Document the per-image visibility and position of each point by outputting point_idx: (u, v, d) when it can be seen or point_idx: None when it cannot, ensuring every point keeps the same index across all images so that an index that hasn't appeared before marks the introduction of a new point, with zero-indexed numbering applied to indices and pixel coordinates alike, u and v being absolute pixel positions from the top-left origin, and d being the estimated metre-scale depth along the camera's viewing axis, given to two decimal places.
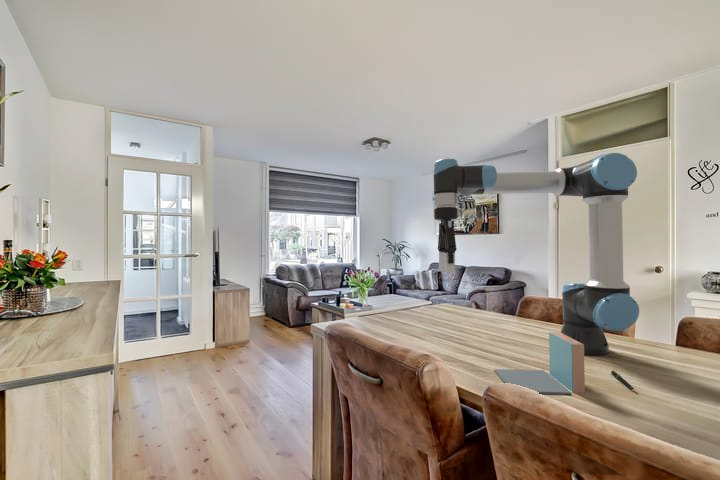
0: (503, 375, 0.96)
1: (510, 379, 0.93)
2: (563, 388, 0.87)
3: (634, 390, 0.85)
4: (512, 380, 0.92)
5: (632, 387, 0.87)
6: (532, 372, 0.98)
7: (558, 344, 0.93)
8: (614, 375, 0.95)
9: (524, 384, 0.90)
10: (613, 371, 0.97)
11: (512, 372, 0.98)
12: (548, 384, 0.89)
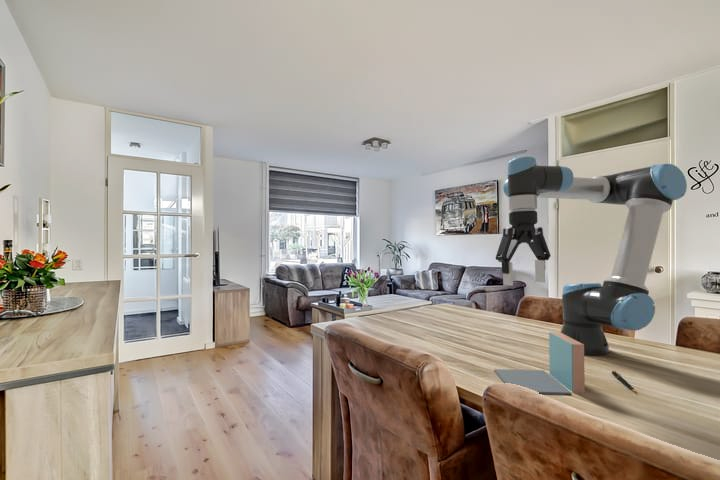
0: (503, 375, 0.96)
1: (510, 379, 0.93)
2: (563, 388, 0.87)
3: (634, 390, 0.85)
4: (512, 380, 0.92)
5: (632, 387, 0.87)
6: (532, 372, 0.98)
7: (558, 344, 0.93)
8: (615, 375, 0.95)
9: (524, 384, 0.90)
10: (614, 371, 0.97)
11: (512, 372, 0.98)
12: (548, 384, 0.89)
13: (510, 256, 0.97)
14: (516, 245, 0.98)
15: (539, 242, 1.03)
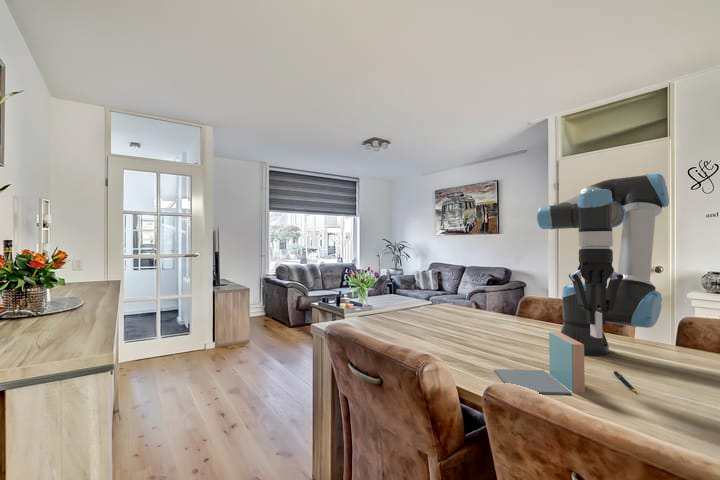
0: (503, 375, 0.96)
1: (510, 379, 0.93)
2: (563, 388, 0.87)
3: (634, 390, 0.85)
4: (512, 380, 0.92)
5: (632, 387, 0.87)
6: (532, 372, 0.98)
7: (558, 344, 0.93)
8: (616, 375, 0.95)
9: (524, 384, 0.90)
10: (616, 371, 0.97)
11: (512, 372, 0.98)
12: (548, 384, 0.89)
13: (593, 305, 0.90)
14: (593, 290, 0.90)
15: (610, 289, 0.91)
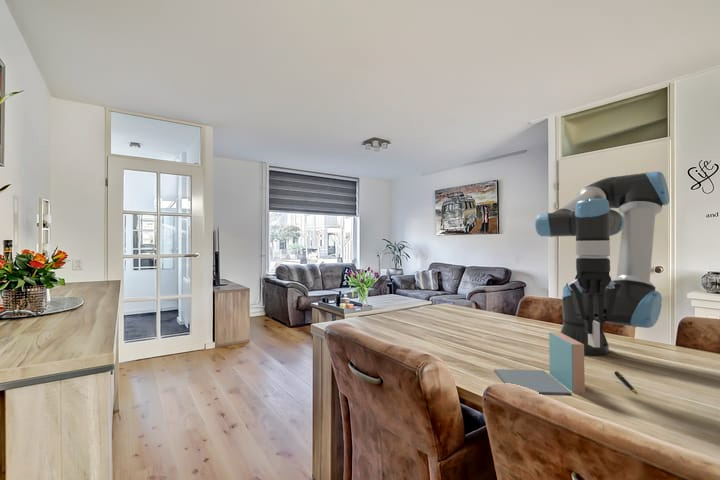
0: (503, 375, 0.96)
1: (510, 379, 0.93)
2: (563, 388, 0.87)
3: (634, 390, 0.85)
4: (512, 380, 0.92)
5: (632, 387, 0.87)
6: (532, 372, 0.98)
7: (558, 344, 0.93)
8: (617, 375, 0.95)
9: (524, 384, 0.90)
10: (616, 372, 0.97)
11: (512, 372, 0.98)
12: (548, 384, 0.89)
13: (590, 314, 0.90)
14: (590, 299, 0.90)
15: (607, 298, 0.91)
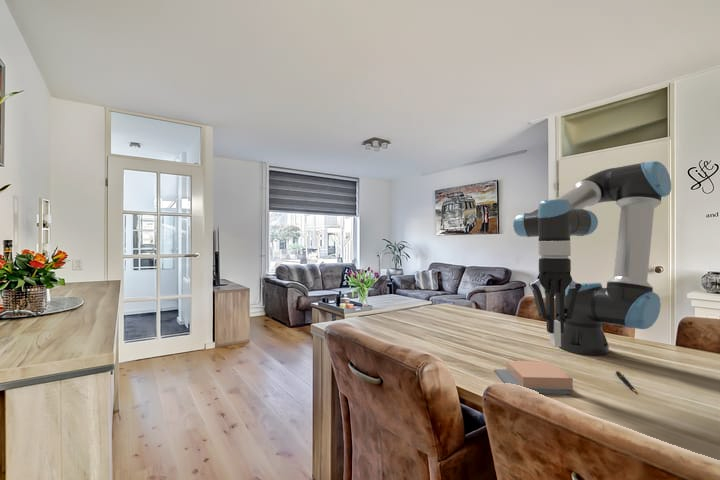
0: (503, 375, 0.96)
1: (510, 379, 0.93)
2: None
3: (634, 390, 0.85)
4: (512, 380, 0.92)
5: (633, 387, 0.87)
6: None
7: None
8: (618, 375, 0.95)
9: None
10: (618, 372, 0.97)
11: None
12: None
13: (552, 314, 0.91)
14: (551, 299, 0.91)
15: (569, 298, 0.92)
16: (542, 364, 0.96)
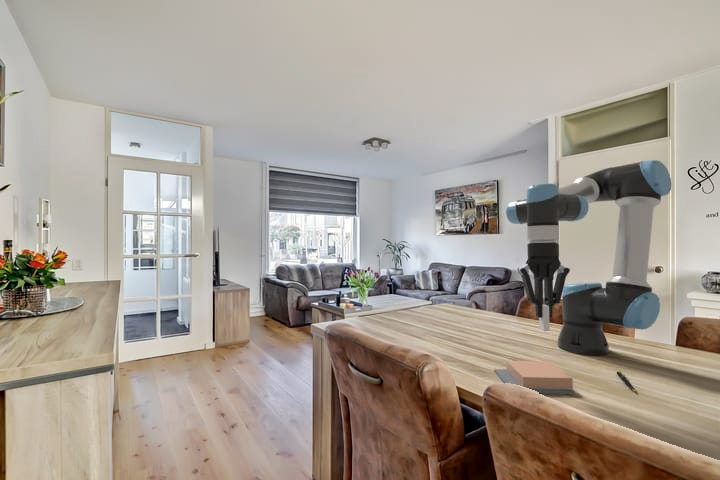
0: (503, 375, 0.96)
1: (510, 379, 0.93)
2: None
3: (634, 390, 0.85)
4: (512, 380, 0.92)
5: (633, 387, 0.87)
6: None
7: None
8: (619, 375, 0.95)
9: None
10: (619, 372, 0.97)
11: None
12: None
13: (540, 298, 0.92)
14: (540, 284, 0.92)
15: (557, 282, 0.92)
16: (542, 364, 0.96)
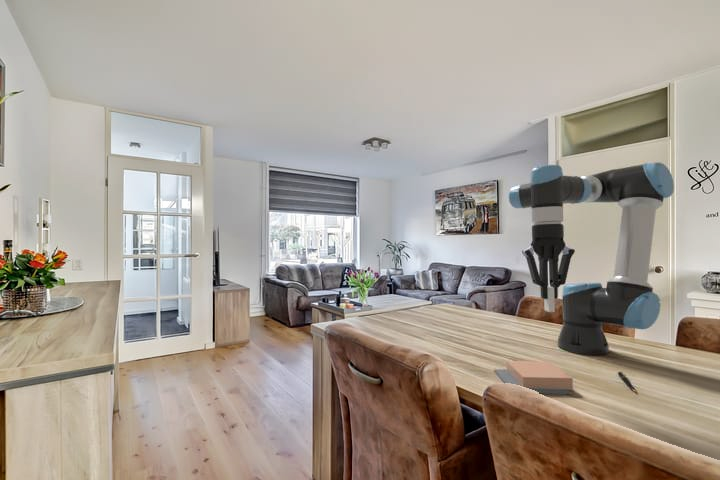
0: (503, 375, 0.96)
1: (510, 379, 0.93)
2: None
3: (634, 390, 0.85)
4: (512, 380, 0.92)
5: (633, 387, 0.87)
6: None
7: None
8: (620, 376, 0.95)
9: None
10: (620, 372, 0.97)
11: None
12: None
13: (545, 280, 0.92)
14: (545, 265, 0.92)
15: (562, 264, 0.92)
16: (542, 364, 0.96)
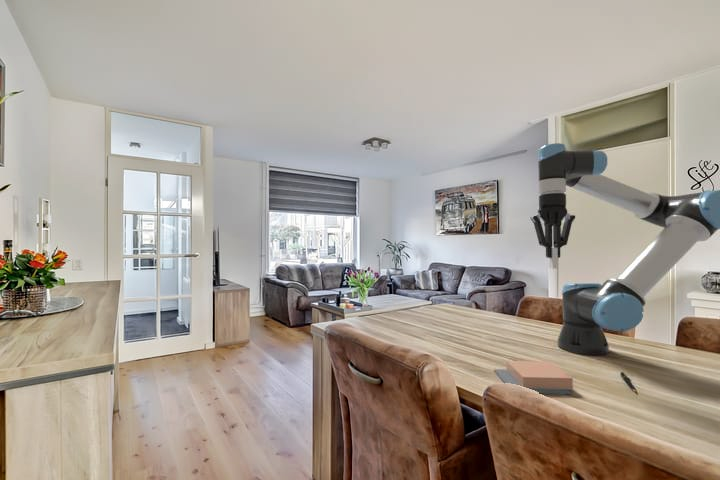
0: (503, 375, 0.96)
1: (510, 379, 0.93)
2: None
3: (634, 390, 0.85)
4: (512, 380, 0.92)
5: (633, 387, 0.87)
6: None
7: None
8: (621, 376, 0.95)
9: None
10: (622, 372, 0.96)
11: None
12: None
13: (550, 241, 1.08)
14: (550, 229, 1.08)
15: (564, 228, 1.09)
16: (542, 364, 0.96)
